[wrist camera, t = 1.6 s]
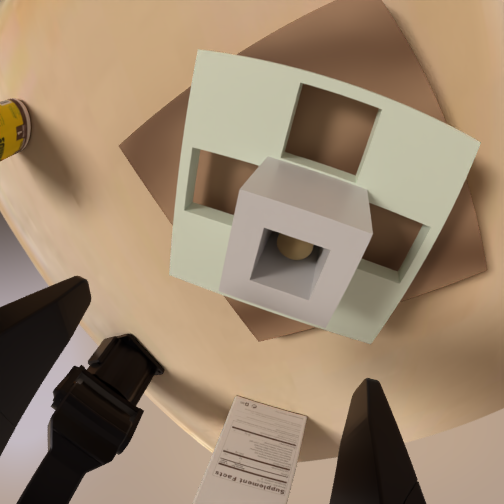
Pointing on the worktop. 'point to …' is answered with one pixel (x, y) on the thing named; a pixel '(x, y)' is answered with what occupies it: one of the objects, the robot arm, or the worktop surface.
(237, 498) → the supplement box
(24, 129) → the supplement bottle
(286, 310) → the flange plate
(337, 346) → the worktop surface
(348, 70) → the walnut board
